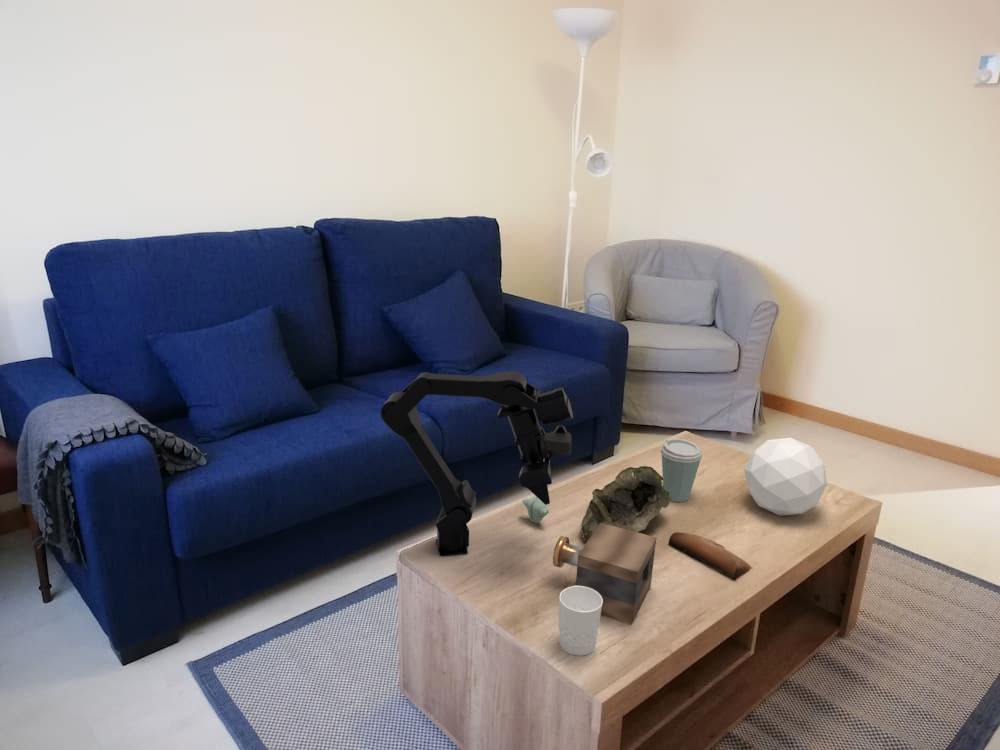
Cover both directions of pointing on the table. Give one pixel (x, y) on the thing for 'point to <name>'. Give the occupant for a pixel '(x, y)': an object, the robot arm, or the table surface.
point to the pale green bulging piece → (535, 509)
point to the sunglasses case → (710, 553)
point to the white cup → (579, 619)
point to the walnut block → (617, 570)
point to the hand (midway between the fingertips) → (548, 493)
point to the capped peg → (565, 553)
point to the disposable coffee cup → (679, 467)
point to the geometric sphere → (785, 476)
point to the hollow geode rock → (626, 501)
